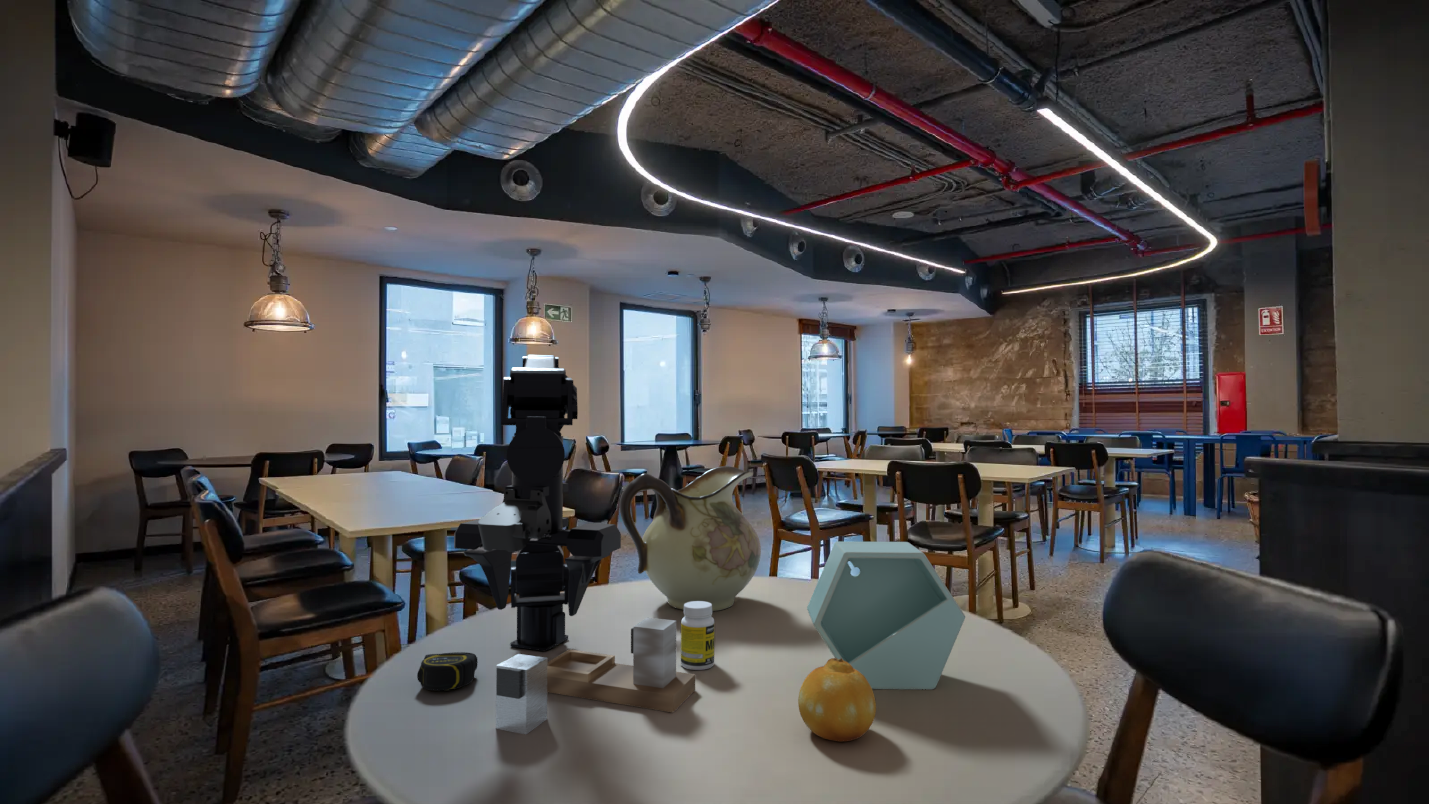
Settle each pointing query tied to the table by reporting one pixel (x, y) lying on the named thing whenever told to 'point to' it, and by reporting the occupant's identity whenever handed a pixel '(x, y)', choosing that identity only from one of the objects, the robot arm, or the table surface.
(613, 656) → the wooden tray stand
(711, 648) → the supplement bottle
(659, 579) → the pitcher
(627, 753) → the table surface
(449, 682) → the tape measure
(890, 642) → the planter
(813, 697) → the fruit
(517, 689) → the grey rectangular block
